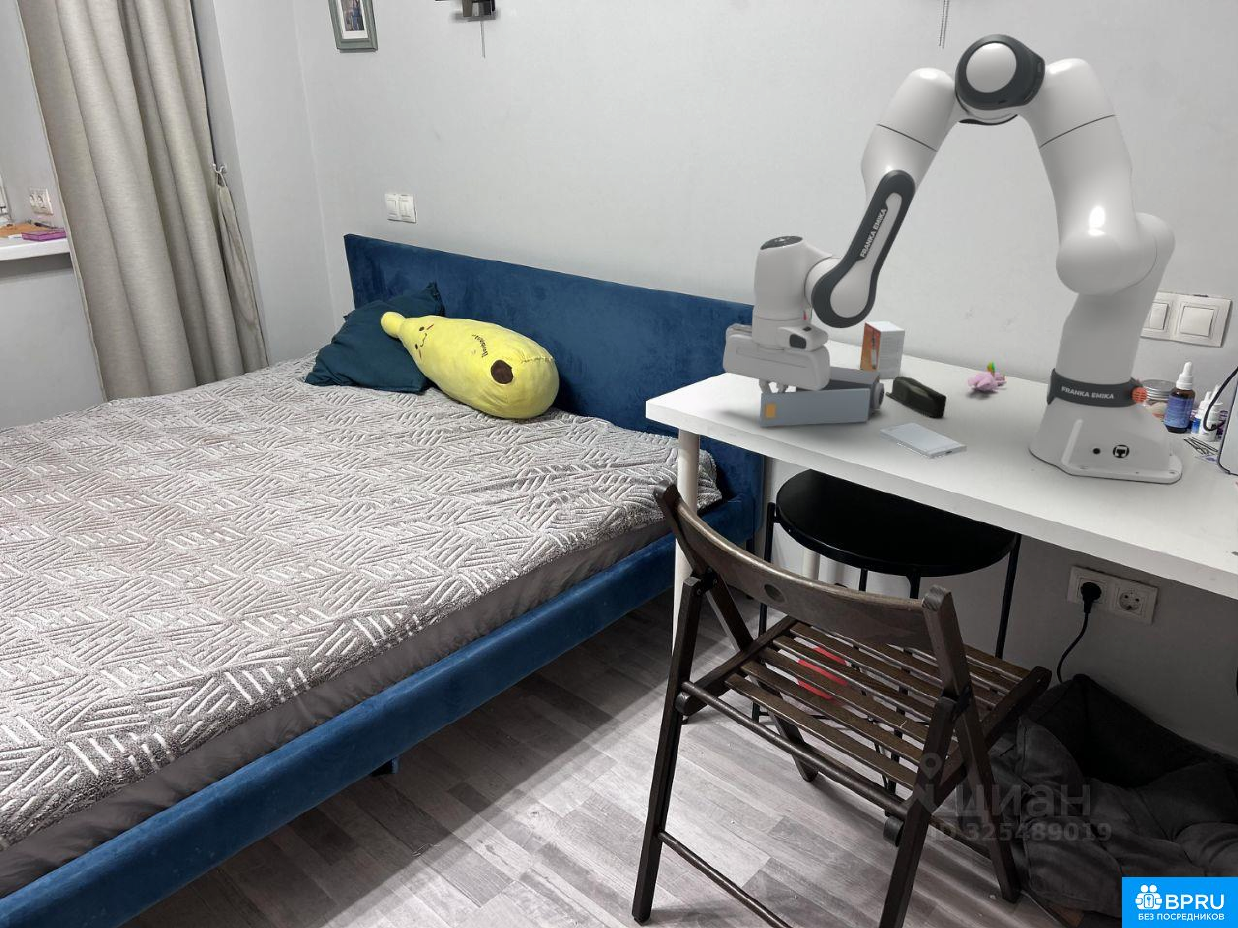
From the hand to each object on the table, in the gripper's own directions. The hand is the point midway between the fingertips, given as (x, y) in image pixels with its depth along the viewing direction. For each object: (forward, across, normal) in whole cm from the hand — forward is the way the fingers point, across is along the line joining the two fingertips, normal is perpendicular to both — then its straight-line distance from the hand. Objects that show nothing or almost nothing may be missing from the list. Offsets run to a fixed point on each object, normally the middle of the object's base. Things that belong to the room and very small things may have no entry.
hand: (772, 403), depth 166 cm
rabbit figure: (+4, +25, +42) cm, 50 cm away
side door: (+3, +7, +3) cm, 8 cm away
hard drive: (+4, +26, +7) cm, 27 cm away
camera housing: (+4, +6, +14) cm, 16 cm away
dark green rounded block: (+4, +18, +24) cm, 30 cm away
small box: (+4, +4, +40) cm, 40 cm away
